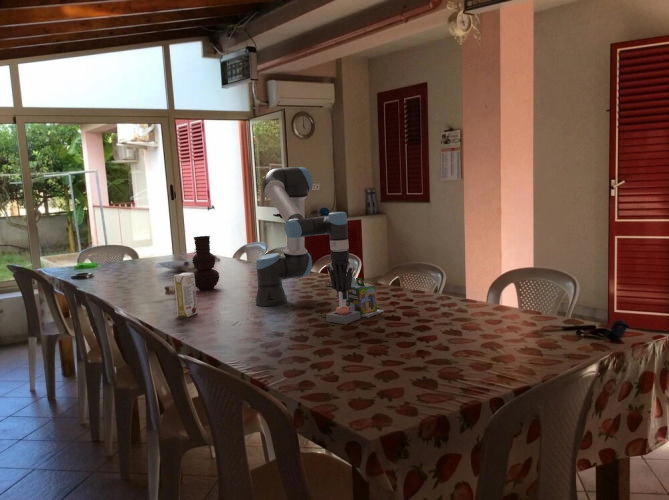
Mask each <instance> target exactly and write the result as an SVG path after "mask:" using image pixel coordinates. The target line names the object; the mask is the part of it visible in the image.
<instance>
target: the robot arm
mask: <svg viewBox="0 0 669 500" xmlns="http://www.w3.org/2000/svg"><path fill="white" fill-rule="evenodd" d="M312 177H313V176H312V175H311V172H310V170H309V169H307V167H304V166H303V167H302V166H291V167H276V168H273V169H271V170H269V171H268V172H267V173H265V175H264V177H263V179H262V183H261V188H262V192H263V193H264V196H265V197H267V198H268V199H269V200H270V201H272V203H273V205H274V207H275V209H276V210H277V211H278V213H279V214H280V216H281V217H282V220H283V221H284V226H283V227H284V232H285V235H286V247H285V249H284V250H283V255H281V254H280V253H278V252H273V253H267V254H264V255H261V256H259V257H258V258H256V266H255V268H256V276H257V277H256V278H257V292H256V297H255V298H254V299H255V305H257V306H260V307H272V306H279V305H280V306H281V305H284V304H286V303H287V302H288V297H287V295H286V293H285V290H284V287H283V281H284V280H290V279H300V278H304V277H307V276H309V275H310V273H311V271H312V267H313V260H312V255H311V253H309V252H308V250H307V248H306V247H305V237H311V236H312V237H313V236H323V235H329V246H330V247H329V248H330V250H331V251H330V253H329V254H330V260H331V263H330V265H329V266H326V269H327V272H328V273H329V278H330V282H331V286H332V289H333V290H334V291H335V290H336V293H337V294H336V295H337V299H338V305H339V307H341V308H343V307H346V306H347V301H346V299H347V290H350V289H351V283H352V277H354V276H353V275H354V272H355V267H354V266H351V265H350V262H349V260H350V250H349V248H350V246H349V245H350V244H349V231H348V230H349V229H348V226H349V225H348V218H347V217H348V215H347V213H346V212H345V211H333V212H332V211H331V212H329V213H328V215H321V216H317V217H316V216H315V217H305V212H306V211H305V207H306V206H305V202H306V201H305V200H306V198H308V194H309V192H311V191H312V190H313V187H314V186H313V184H314V183H313V179H312Z"/></svg>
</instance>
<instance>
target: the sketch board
mask: <svg viewBox="0 0 669 500" xmlns="http://www.w3.org/2000/svg"><path fill="white" fill-rule="evenodd" d="M384 312H385V309H378V308H377V311H374V312H369V313H366V314H362V315H360V318H361V317H363V318H371V317H373V316H376V315H378V314H381V313H384Z"/></svg>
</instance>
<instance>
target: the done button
mask: <svg viewBox="0 0 669 500" xmlns="http://www.w3.org/2000/svg"><path fill="white" fill-rule="evenodd" d="M336 311H337V314H338V315H347V314H349V305H346V307H343V308H341V307H339V306H336Z"/></svg>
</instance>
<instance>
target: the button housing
mask: <svg viewBox="0 0 669 500" xmlns="http://www.w3.org/2000/svg"><path fill="white" fill-rule="evenodd" d="M325 319H326V320H325V321H326V322H327V323H335V324H340V325H341V324H342V325H348V324H350V323H353V322H356V321H358V320H361V316H360V312H359V311H352V310H349V314H347V315H338V314H337V310H334V311H332V312H329V313H326V314H325Z"/></svg>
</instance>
